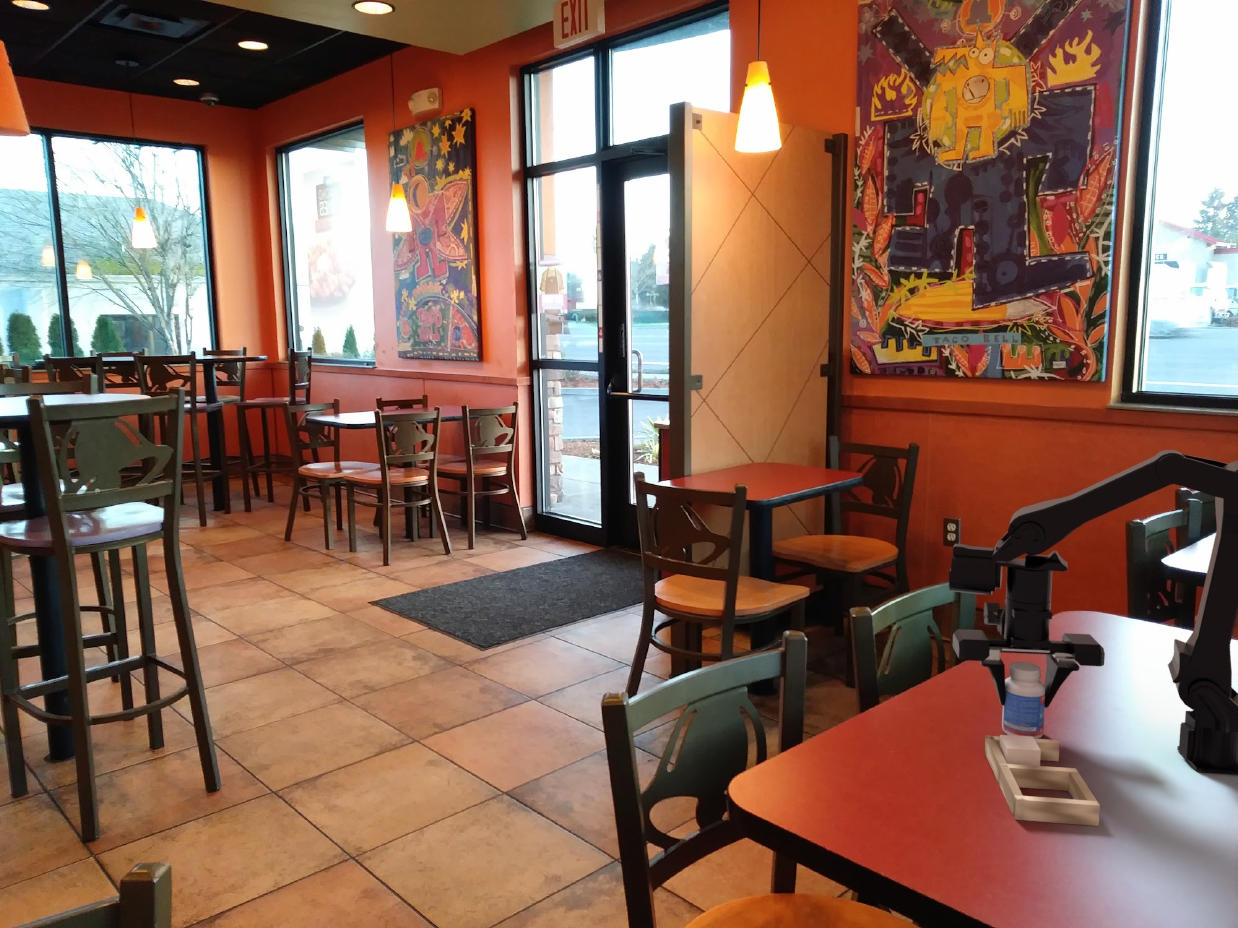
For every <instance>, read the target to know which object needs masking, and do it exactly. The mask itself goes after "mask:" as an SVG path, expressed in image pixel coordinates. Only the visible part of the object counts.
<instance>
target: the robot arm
mask: <svg viewBox="0 0 1238 928" xmlns="http://www.w3.org/2000/svg"><path fill="white" fill-rule="evenodd" d="M1172 485H1177V486H1179V487H1183V488H1187V489H1190V490H1193V491H1196V492H1200V493H1203V494H1206V495H1210V496H1212V497H1214V499H1215V501H1214V502H1215V503H1214V504H1215V517H1216V518H1215V520H1216V533H1215V537H1214V541H1213V545H1212V550H1211V554H1210V558H1209V559H1210V560H1209V562H1208V563H1209V564H1208V567H1207V571H1206V576H1205V581H1204V584H1203V585H1204V586H1203V589H1202V594H1201V599H1200V603H1199V607H1198V612H1197V615H1196V619H1195V620H1196V621H1195V623H1194V624H1195V625H1194V629H1193V631H1192V633H1191V634H1190V636H1189V637H1188V639H1187V641H1182V640H1180V639H1177V638H1175V639H1173V640H1174V642H1173V656H1172V659H1171V660H1170V661H1169V662H1168V664H1167V667H1168V670H1169V674H1170V676H1171V679H1172V683H1173V684H1175V687H1176V690H1177V693H1178V696H1179V699H1180V700H1181V702H1182V703H1183V704H1184V705H1185V706H1186V707H1188V708H1190V709H1191V710H1185V714H1184V715H1185V716H1184V717H1185V718H1184V722H1181V723H1180V727H1179V728H1180V729H1179V743H1178V746H1176V747H1177V748H1176V749H1177V751H1178V752H1179V754H1181V756H1182V757H1183V758H1184V759H1185V760H1186V761H1187V762H1188V763H1189V764H1190V766H1191V767H1192V768H1193V769H1194V770H1196V771H1198V772H1204V773H1205V772H1206V773H1219V774H1235V775H1238V691H1236V690H1235V689H1234V688H1233V687H1232V685H1233V683H1232V682H1233V681H1232V680H1233V678H1232V677H1233V675H1232V674H1233V673H1232V659H1231V658H1232V656H1231V642H1232V639H1233V638H1232V637H1233V633H1234V629H1235V625H1236V621H1237V615H1238V460H1236V461H1232V462H1230V463H1228V462H1224V461H1223V462H1222V461H1220V460H1214V459H1211V458H1210V459H1209V458H1204V457H1199V456H1195V455H1189V454H1185V453H1181V452H1180V451H1177V450H1174V449H1165V450H1161V451H1159V452H1158V453H1155V455H1154V456H1152V457H1151V458H1148V459H1146V460H1144V461H1141V462H1140V463H1138V464H1135V465H1132V467H1129V468H1127V469H1124V470H1123V471H1120V472H1118V473H1116V474H1114V475H1112V476H1109V477H1107V478H1105V479H1102V480H1101V481H1099V482H1097V483H1095V484H1093V485H1090V486H1088V487H1085V488H1084V489H1082V490H1081V489H1080V490H1079V491H1077V492H1075V493H1073V494H1070V495H1068V496H1064V497H1061V498H1055V499H1049V500H1045V501H1041V502H1037V503H1034V504H1031V505H1027V506H1024V507H1020V508H1019V509H1018V510H1016V511H1015V512H1014V513H1013V514H1012V516H1011V519H1010V521H1009V525H1008V528H1007V531H1006V533H1005V534H1004V535H1003V536H1002V537H1001V538H1000V539H997V543H996V544H995V546H994V547H988V546H987V547H986V546H985V547H984V546H975V545H974V546H973V545H968V544H964V543H955V544H954V545H953V547H952V555H951V556H952V557H951V562H950V563H951V564H950V569H949V571H948V588H949V592H953V593H954V592H955V593H956V592H957V593H965V594H974V595H975V594H977V595H985V596H993V592H994V593H996V589H999V590H1001V589H1002V580H1003V567H1006V586H1005V590H1006V591H1005V599H1004V603H1003V608H1001V605H1000V604H1001V603H1000V602H991V601H990V602H986V601H985V602H984V605H983V622H984V625H996V627H997V629H996V630H997V632H998V633H999V634H1000V635H1001V636H1003V637H1004V638H994V637H987V635H986V634H985V632H984V631H983V630H982V629H964V628H963V629H960V628H958V629H956V630H955V632H954V633H953V634H952V648H953V650H954V652H955V654H956V657H957V658H958V660H962V661H970V662H973V661H974V662H975V661H976V662H979V664H980V665H981V666H982V667H985V668H988V670H989V673H990V675H991V677H992V681H993V684H994V688H995V690H996V691H995V692H996V695H997V699H998V700H999V704H1000V705H1001V706H1003V705H1004V704H1005V697H1006V695H1005V680H1006V668H1005V667H1006V665H1005V663H1004V661H1003V660H1002V658H1001V654H1002V653H1004V654H1005V653H1006V654H1010V653H1011V654H1026V655H1027V654H1029V655H1031V654H1032V655H1045V658H1046V661H1045V662H1046V669H1045V676H1044V683H1043V684H1044V686H1045V709H1047V708H1049V707H1050V705H1051V703H1052V701H1053V700H1054V699H1055V696H1056V695H1057V693H1058V691H1059V690H1060V688H1061V686H1062V685H1063V684H1064V683H1065V681H1066V680H1067V678H1069V676H1070V675H1071V674H1072V673H1073V672H1078V671H1080V666H1084V667H1104V665H1105V659H1106V658H1105V657H1106V655H1105V649H1104V647H1103V646H1102V645H1101V644H1100V643H1099V642H1098V641H1097V640H1096V639H1095V638H1094V637H1093V635H1091V634H1090V633H1069V632H1068V633H1067V632H1063V634H1062V636H1061V640H1051V639H1050V634H1051V633H1050V629H1051V620H1053V611H1052V610H1051V608H1052V607H1051V606H1052V591H1053V590H1052V585H1053V572H1063V573H1065V572H1067V571H1068V561H1066V560H1065V559H1064V558H1063V557H1061V556H1060V554H1059V553H1058V550H1055V549H1054V550H1053V551H1051V552H1050V553H1049V554H1047V555H1043V553H1044V552H1047V550H1050V549H1051V548H1053V547H1054V546H1055V545H1056V544H1059V543H1060V542H1061V541H1063V540H1065V538H1067V537H1068V536H1070V535H1071V534H1072V533H1073V532H1074V531H1075V530H1078V528H1080V527H1081V526H1082V525H1085V523H1087V522H1088V523H1089V522H1090V521H1093V520H1094V519H1097V518H1099V517H1101V516H1103V515H1106V514H1108V513H1111V512H1113V511H1114V510H1116V509H1119V508H1121V507H1125V506H1126V505H1128V504H1130V503H1133V502H1135V501H1138V500H1139V499H1141V498H1144V497H1146V496H1149V495H1150V494H1153V493H1155V492H1157V491H1159V490H1161V489H1164V488H1166V487H1168V486H1172ZM1023 555H1025V558H1020V556H1023Z"/></svg>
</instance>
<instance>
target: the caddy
mask: <svg viewBox="0 0 1238 928" xmlns="http://www.w3.org/2000/svg"><path fill="white" fill-rule="evenodd" d="M984 739H985V740H984V741H985V744H984V755H985V756H986V759H987V762H988V763H989V766H990V767H991V770H992V772H993V773H994V777H995V779H996V781H997V783H998V785H999V787H1000V789H1001V792H1002V794H1003V796H1004V798H1005V800H1006V803H1007V805H1008V807H1009V809H1010V811H1011V814H1012V815H1013V818H1014V820H1017V821H1028V822H1029V821H1030V822H1041V823H1054V824H1068V825H1069V824H1070V825H1082V826H1094V827H1095V826H1096V827H1100V811H1101V810H1100V809H1101V805H1100V804H1099V802H1098V800H1097V799H1096V797H1095V796H1094V794H1093V793H1092V791H1091V790H1090V788H1089V787H1088V785H1087V783H1086V782H1085V780H1084V779H1083V777H1082V776H1081V775H1080V772H1079V771H1078V770H1077V768H1074V767H1061V766H1060V767H1058V766H1044V765H1040V766H1031V765H1015V764H1007V763H1006V761H1005V759H1004V757H1003V755H1002V753H1001V751H1000V749H999V748H1000V736H996V735H995V736H993V735H985V738H984ZM1034 740H1035V742H1036V743H1037V745H1038V747H1039V748H1040V750H1041V755H1040V761H1048V762H1059V761H1060V760H1059V759H1060V742H1059V740H1058V739H1045V738H1038V739H1034ZM1020 788H1022V789H1023V788H1024V789H1025V788H1026V789H1035V790H1036V789H1037V790H1038V789H1039V790H1053V791H1067V792H1069V794H1070V795H1071V797H1072V798H1057V797H1046V796H1045V797H1044V796H1029V795H1023V793H1022V791H1021V789H1020Z"/></svg>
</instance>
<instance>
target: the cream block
mask: <svg viewBox="0 0 1238 928" xmlns="http://www.w3.org/2000/svg"><path fill="white" fill-rule="evenodd" d="M999 737H1000V748H999V749H1000V751H1001V753H1002V755H1003V757H1004V759H1005V761H1006V763H1007V764H1015V765H1031V766H1041V760H1040V755H1041V750H1040V748H1039V747H1038V745H1037V743H1036V742H1035V740H1034V738H1033V737H1032V736H1015V735H1008V734H999Z"/></svg>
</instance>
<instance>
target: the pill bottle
mask: <svg viewBox="0 0 1238 928" xmlns="http://www.w3.org/2000/svg"><path fill="white" fill-rule="evenodd" d="M1041 671H1042V669H1041V667H1040V665H1037V664H1035V663H1032V662H1028V661H1014V662H1011V663H1010V664H1009V670H1008V672H1009V673H1008V674H1009V677H1007V678H1005V695H1006V697H1005V704H1004V705H1002V713H1001V714H1002V715H1001V716H1002V717H1001V719H1002V720H1001V729H1002V731H1003V732H1004V733H1005V735H1015V736H1032V737H1033V738H1034V739H1041V738H1042V737H1043V735H1044V730H1045V729H1044V727H1045V725H1044V724H1045V709H1046V708H1045V686H1044V683H1043V682H1042V681H1041V680H1040V679H1041V677H1042V674H1041Z"/></svg>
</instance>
